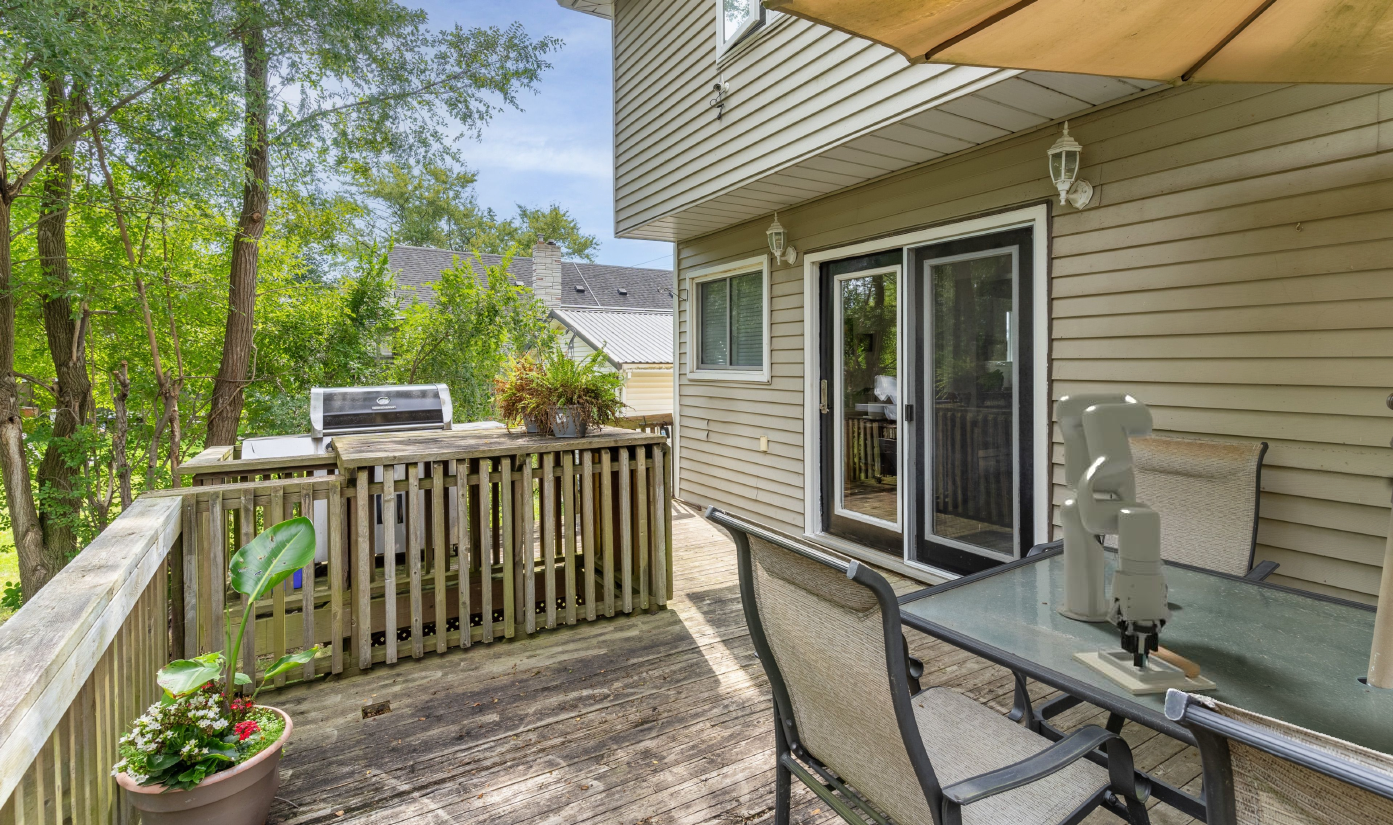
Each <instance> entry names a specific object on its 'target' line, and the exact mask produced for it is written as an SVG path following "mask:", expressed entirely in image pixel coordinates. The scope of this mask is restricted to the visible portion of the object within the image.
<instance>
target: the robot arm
mask: <svg viewBox="0 0 1393 825" xmlns="http://www.w3.org/2000/svg"><path fill="white" fill-rule="evenodd" d="M1055 419H1056V422H1057V425H1058V428H1059V430H1060V434H1061V436H1062V439H1063V449H1064V452H1063V453H1064V455H1063V456H1064V457H1063V458H1064V480H1065V484H1066V485H1065V486H1066V487H1067V489H1069V491H1072V492H1074V493H1076V497H1075V498H1074V497H1073V498H1069V499H1066V500H1064V501H1063V502H1062V503H1061V504H1060V506H1059V518H1060V523H1061V529H1062V536H1063V537H1062V539H1063V578H1064V579H1063V588H1064V589H1063V590H1064V592H1063V594H1064V595H1063V596H1064V597H1063V598H1064V599H1063V602H1064V603H1061V604H1058V606H1057V611H1058V614H1061V615H1062V616H1064V617H1067V618H1070V619H1073V620H1077V621H1083V622H1094V623H1098V622H1100V623H1101V622H1102V623H1103V622H1108V621H1109V623H1110V622H1111V623H1112V624H1113V625H1114V626H1115V628H1116V629H1117V630H1118V631H1119V632H1120V648H1121V650H1125V651H1127V652H1129V653H1131V654H1133V653H1135V640H1136V635H1135V634H1133V627H1134V626H1133V624H1134V623H1135V621H1140V620H1153V623H1154V624H1157V628H1156V633H1154V634H1151V635H1146V637H1147V647H1149V649H1150V650H1152V651H1154V652H1158V646H1159V634H1161V633H1162V629H1163V627H1164V626H1166V624H1167V623H1168V622H1169V621H1171V619H1172V618H1173V617H1174V615H1173V614H1172V612H1171V610H1170V609H1169V608H1168V592H1167V593H1166V586H1165V584H1166V582H1165V577H1164V574H1163V573H1162V572H1161V569H1162V567H1163V566H1164V565H1165V562H1164V560H1163V559H1161V558H1162V557H1161V555H1162V554H1161V539H1162V538H1161V515H1160V513H1159V512H1158V511H1156V510H1155V509H1152V507H1151V506H1150V505H1149V504H1147V503H1144V502H1141V501H1137V495H1136V494H1137V490H1136V486H1137V485H1136V476H1135V474H1136V473H1135V471H1134V468H1133V466H1132V465H1133V463H1134V456H1133V453H1132V450H1131V449H1132V448H1131V445H1130V442H1129V439H1130V438H1131V439H1139V438H1140V439H1141V438H1147V437H1148V436H1150V434H1152V431H1153V429H1154V428H1153V426H1154V420H1153V416H1152V414H1151V411H1150V409H1149V407H1148V406H1147V405H1146V404H1145V403H1144V402H1142V401H1141V400H1139V399H1138V398H1136V397H1134V395H1132V394H1129V393H1123V392H1122V393H1121V392H1120V393H1113V392H1112V393H1111V392H1110V393H1108V392H1107V393H1075V394H1074V393H1073V394H1068V395H1064V396H1062V397H1060V398H1059V399H1058V401H1057V402H1056V405H1055ZM1094 494H1111V495H1112V498H1107V497H1106V498H1101V497H1100V498H1099V497H1098V498H1097V497H1094ZM1094 535H1105V536H1106V535H1110V536H1116V535H1117V540H1118V541H1117V556H1118V557H1117V560H1118V561H1117V570H1114V572H1113V575H1112V579H1111V585H1110V591H1109V592H1110V594H1109V597H1108V598H1106V553H1105V549H1104V547H1103V546H1102V544H1101V543H1100V542H1099V541H1098V540H1097V539H1096V538H1095V537H1094ZM1118 617H1119V618H1118Z"/></svg>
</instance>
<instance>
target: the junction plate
mask: <svg viewBox="0 0 1393 825" xmlns="http://www.w3.org/2000/svg"><path fill="white" fill-rule="evenodd" d="M1148 657H1149V665H1148V659H1146V669H1145V668H1140V667H1136V666H1134V656H1133V657H1132V654H1131V653H1129V652H1127V651H1125V650H1123V649H1118V650H1117V649H1114V650H1100V651H1093V652H1092V651H1091V652H1078V653H1077V652H1076V653H1072V654H1071V658H1072V659H1073V660H1075V661H1076V662H1078V663H1079V664H1081V665H1082V666H1085V667H1086V668H1088V669H1090V670H1092V671H1093V672H1095V673H1096V674H1099V675H1100V676H1101V677H1103V678H1104V679H1106V680H1108V681H1109V682H1111V683H1113V684H1115V685H1117V686H1118V687H1120V688H1121V689H1123V690H1125V691H1127V692H1128V693H1130V694H1131V695H1141V694H1142V695H1144V694H1158V693H1167V692H1166V690H1168V689H1169V688H1175V689H1179V690H1182V691H1181V692H1188V691H1189V692H1190V691H1205V690H1215V689H1217V684H1216V683H1215V682H1213V681H1211V680H1209V679H1207V678H1205V677H1203V676H1202V675H1201V671H1202V670H1201V668H1202V667H1201V666H1200V665H1199V664H1197V663H1195V662H1194V661H1191V660H1189V659H1187V658H1185V657H1183V656H1180V655H1178V654H1177V653H1174V652H1173V651H1170V650H1168V649H1166V648H1164V647H1162V646H1160V645H1158V652H1154V651H1152V650H1150V652H1149V655H1148ZM1164 691H1165V692H1164Z"/></svg>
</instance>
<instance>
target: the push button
mask: <svg viewBox="0 0 1393 825" xmlns="http://www.w3.org/2000/svg"><path fill="white" fill-rule="evenodd" d="M1133 626H1134V627H1133V632H1134V634H1135V633H1136V635H1135V653H1133V654H1132V657H1133V656H1134V666H1136V667H1140V668H1145V669H1146V659H1148V665H1149V657H1148V655H1149V652H1150V649H1149V647H1147V637H1146V635H1151V634H1154V633H1156V628H1157V624H1154V623H1153V620H1140V621H1135V623H1134V624H1133ZM1133 632H1132V633H1133Z"/></svg>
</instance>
